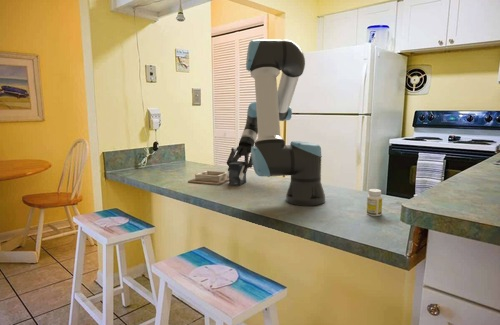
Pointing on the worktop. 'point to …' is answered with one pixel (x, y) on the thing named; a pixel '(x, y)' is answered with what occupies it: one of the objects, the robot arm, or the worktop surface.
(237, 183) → the box
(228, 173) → the robot arm
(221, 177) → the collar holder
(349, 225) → the worktop surface
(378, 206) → the supplement bottle
